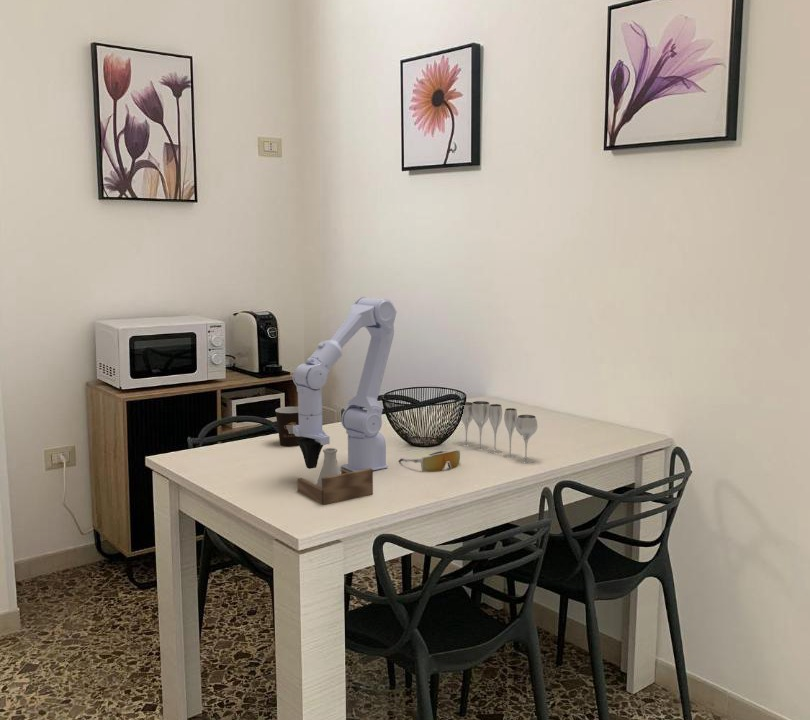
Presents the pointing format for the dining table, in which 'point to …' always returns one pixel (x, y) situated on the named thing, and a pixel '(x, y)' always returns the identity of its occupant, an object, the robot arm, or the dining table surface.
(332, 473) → the flask
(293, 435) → the coffee mug
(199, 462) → the dining table surface
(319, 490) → the shelf bay
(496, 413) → the goblet set
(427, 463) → the sunglasses
